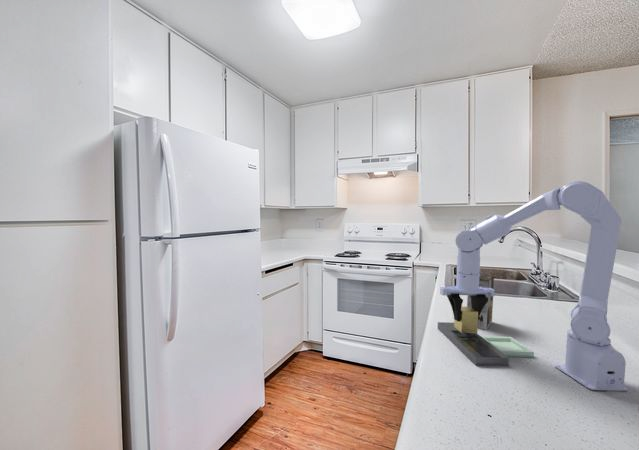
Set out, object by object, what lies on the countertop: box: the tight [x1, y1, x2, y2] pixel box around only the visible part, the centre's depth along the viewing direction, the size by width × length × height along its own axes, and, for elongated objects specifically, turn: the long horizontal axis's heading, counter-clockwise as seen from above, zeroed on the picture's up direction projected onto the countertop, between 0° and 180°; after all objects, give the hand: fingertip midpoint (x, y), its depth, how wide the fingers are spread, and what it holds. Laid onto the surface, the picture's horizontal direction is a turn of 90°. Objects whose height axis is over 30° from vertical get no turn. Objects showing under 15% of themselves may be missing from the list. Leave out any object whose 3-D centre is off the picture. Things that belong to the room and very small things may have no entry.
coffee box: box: [466, 273, 495, 331], centre depth 97 cm, size 9×6×16 cm
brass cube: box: [453, 306, 479, 334], centre depth 83 cm, size 4×4×6 cm
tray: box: [480, 335, 535, 358], centre depth 79 cm, size 9×9×1 cm
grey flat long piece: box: [437, 321, 510, 367], centre depth 81 cm, size 22×8×2 cm, turn 1°
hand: (465, 320), depth 83 cm, fingers closed on brass cube, 4 cm apart
